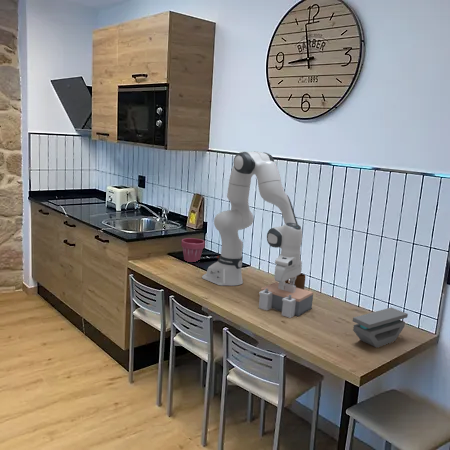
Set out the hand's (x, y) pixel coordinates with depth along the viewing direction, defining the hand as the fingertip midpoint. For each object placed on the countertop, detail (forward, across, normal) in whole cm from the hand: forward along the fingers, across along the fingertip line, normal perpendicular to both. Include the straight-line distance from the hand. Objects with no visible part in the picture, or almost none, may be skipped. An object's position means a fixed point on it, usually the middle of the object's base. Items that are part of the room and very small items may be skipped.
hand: (287, 287), depth 223 cm
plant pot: (+10, -28, -79) cm, 84 cm away
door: (+3, +2, 0) cm, 3 cm away
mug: (+10, -22, -7) cm, 25 cm away
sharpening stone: (+10, +6, +46) cm, 47 cm away
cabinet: (+10, +2, 0) cm, 10 cm away
